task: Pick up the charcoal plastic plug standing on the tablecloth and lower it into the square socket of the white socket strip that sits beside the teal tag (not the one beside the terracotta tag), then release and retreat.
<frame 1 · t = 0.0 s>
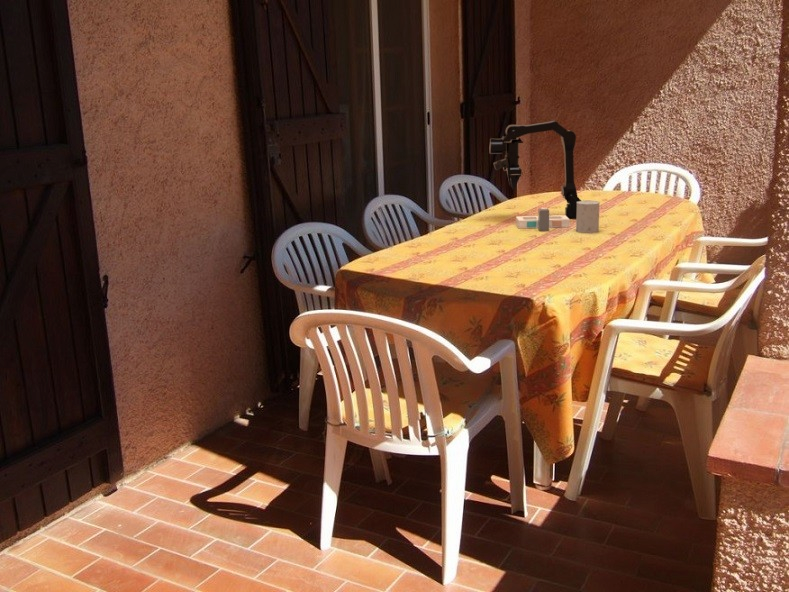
hand: (512, 187, 401), 15 cm above the table, fingers open, 9 cm apart
stone cylinder: (587, 231, 375), on the table
plug: (543, 230, 379), on the table
socket strip: (542, 225, 388), on the table
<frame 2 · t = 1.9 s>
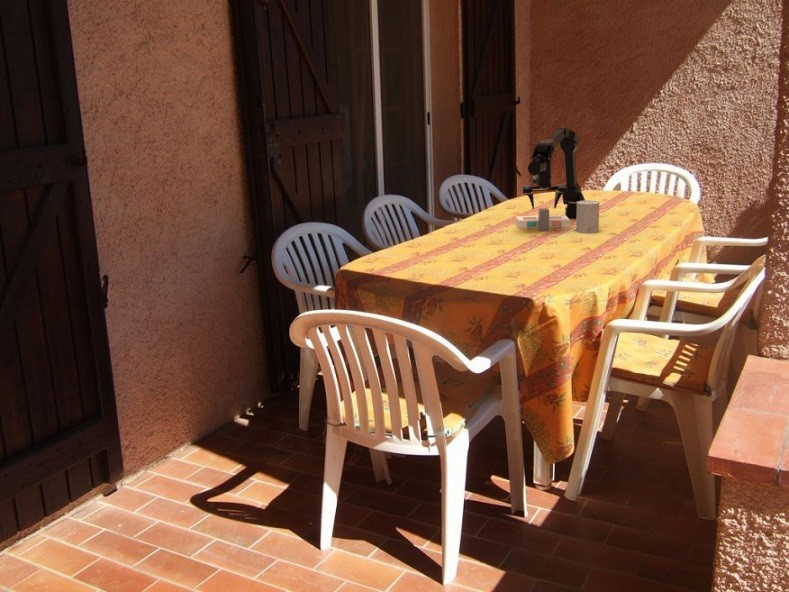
hand: (543, 208, 376), 9 cm above the table, fingers open, 9 cm apart
nothing on the table moved.
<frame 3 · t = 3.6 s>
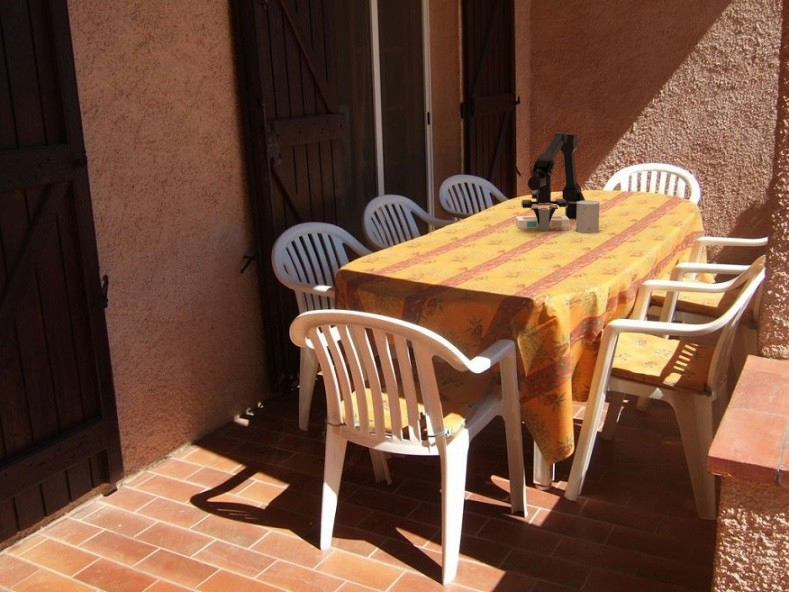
hand: (543, 223, 378), 3 cm above the table, fingers closed on plug, 4 cm apart
plug: (543, 230, 379), on the table, touching gripper
everything else where it was.
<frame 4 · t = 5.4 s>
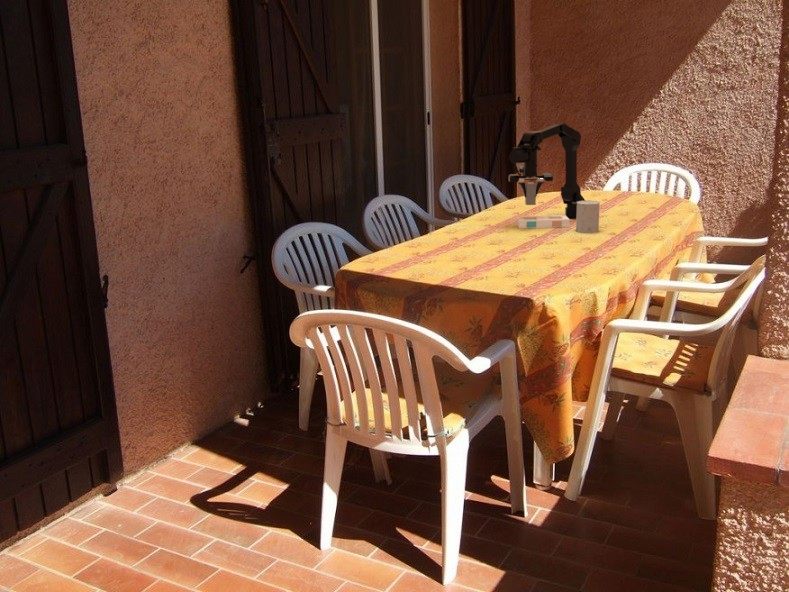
hand: (530, 197, 385), 13 cm above the table, fingers closed on plug, 4 cm apart
plug: (530, 204, 386), point 10 cm above the table, touching gripper
everything else where it was.
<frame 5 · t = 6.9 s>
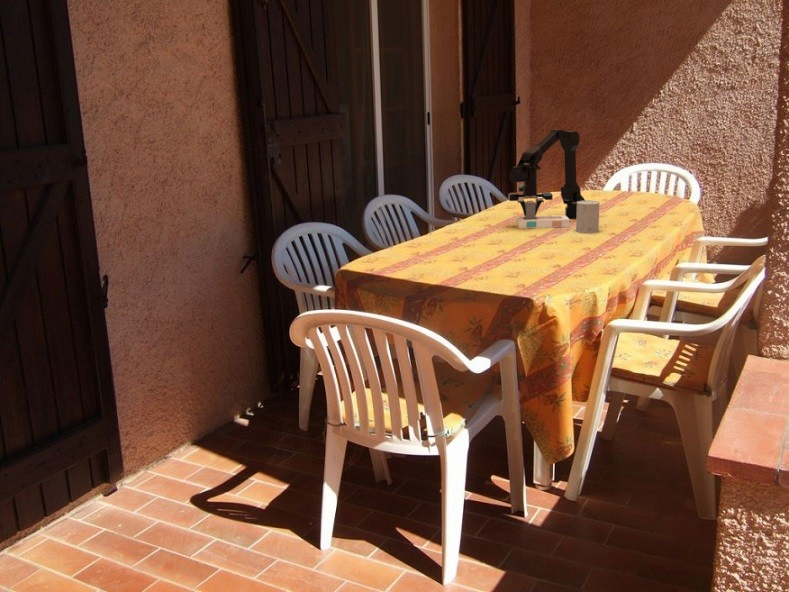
hand: (530, 215, 387), 5 cm above the table, fingers closed on plug, 4 cm apart
plug: (529, 222, 388), point 2 cm above the table, touching gripper
everything else where it was.
when the fingers open (4 cm above the table, at t = 7.6 s): plug drops 1 cm, resting in socket strip.
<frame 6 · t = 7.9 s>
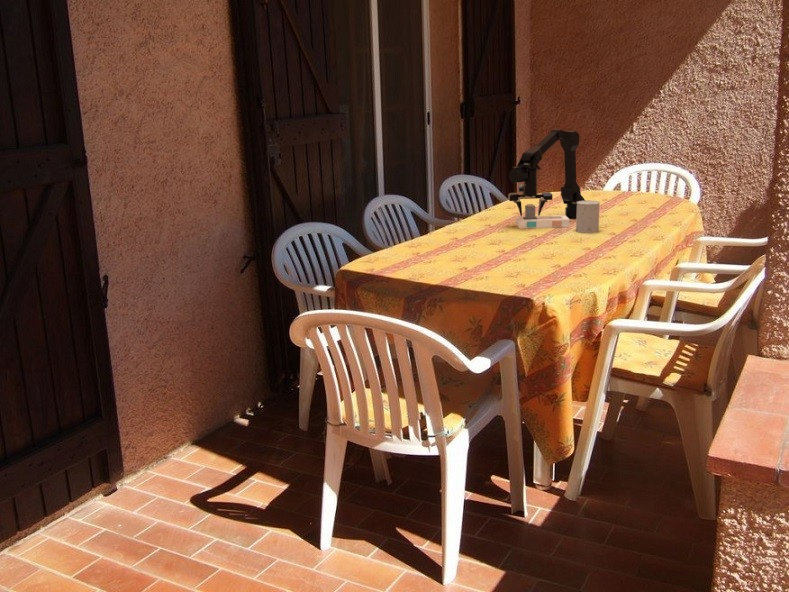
hand: (530, 216, 387), 4 cm above the table, fingers open, 7 cm apart
plug: (529, 226, 389), resting in socket strip
everything else where it was.
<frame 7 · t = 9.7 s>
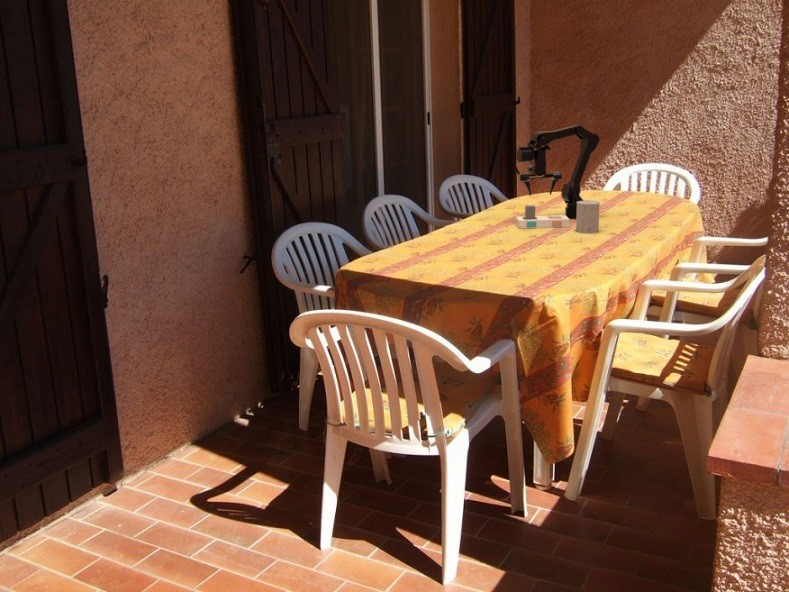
hand: (540, 195, 397), 12 cm above the table, fingers open, 9 cm apart
nothing on the table moved.
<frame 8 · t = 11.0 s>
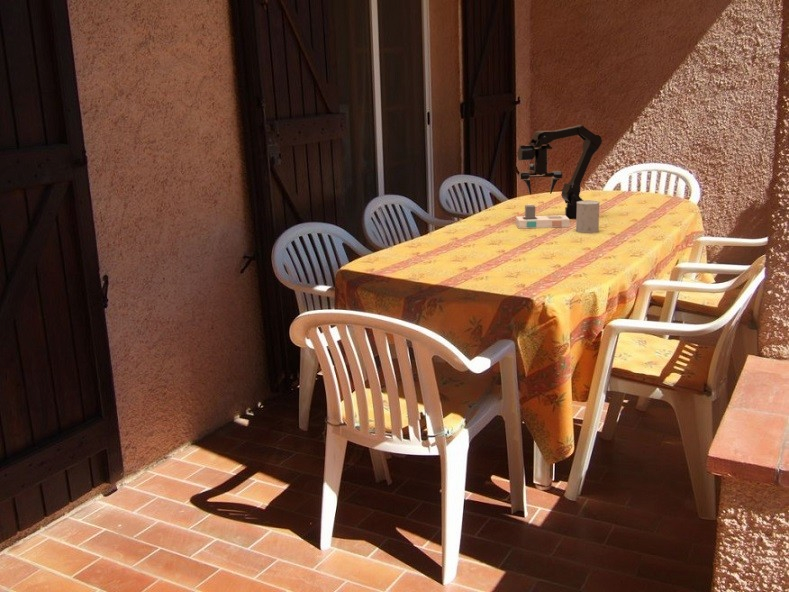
hand: (540, 194, 398), 12 cm above the table, fingers open, 9 cm apart
nothing on the table moved.
at the end: plug 0.0 cm from the target spot on the socket strip, point 0.0 cm above the socket strip's base; plug tilted 0°; the gripper is holding nothing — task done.
